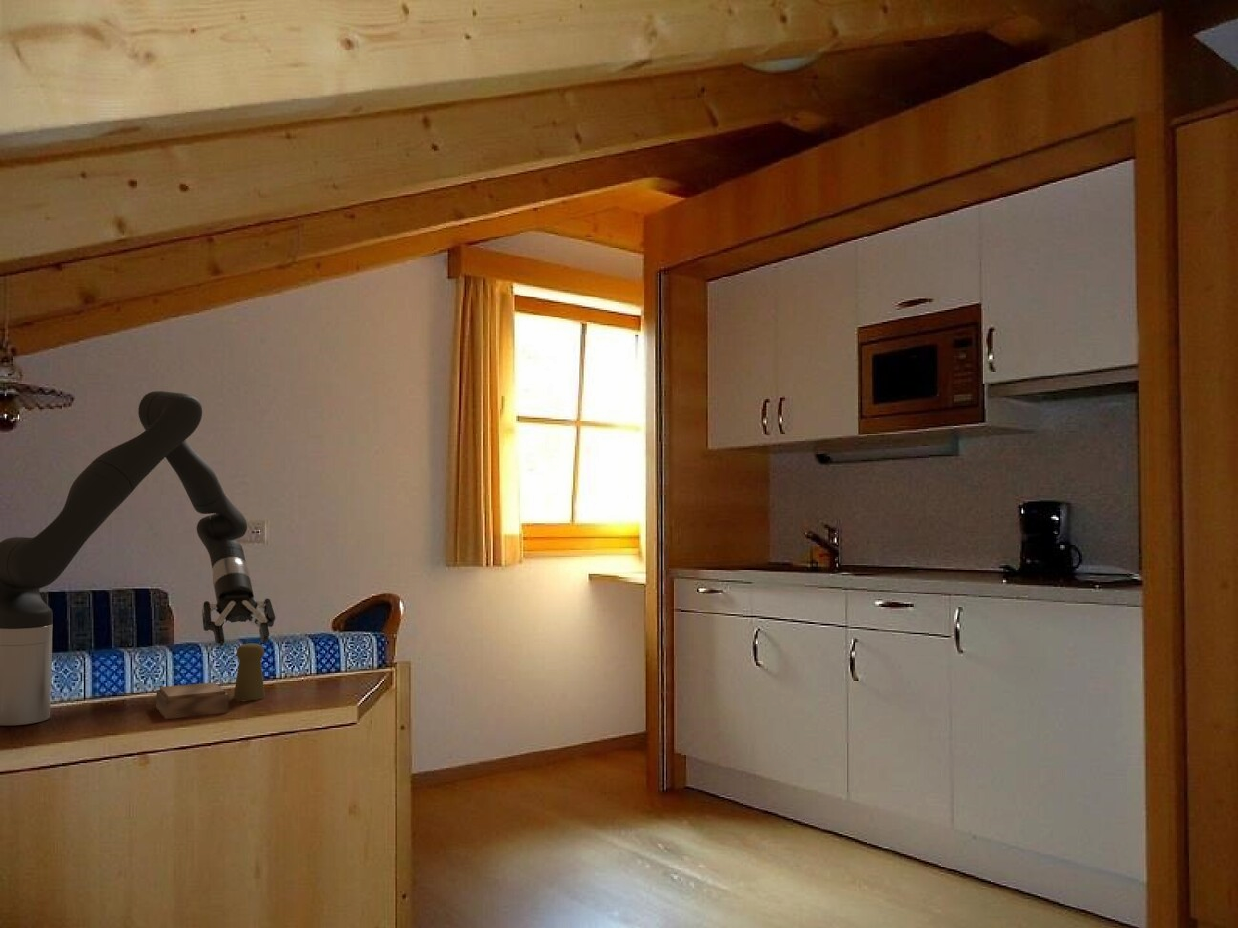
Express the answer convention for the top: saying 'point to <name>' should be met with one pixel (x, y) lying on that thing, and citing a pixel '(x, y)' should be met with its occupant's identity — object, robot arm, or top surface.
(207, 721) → the top surface
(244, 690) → the cork
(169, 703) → the plinth
